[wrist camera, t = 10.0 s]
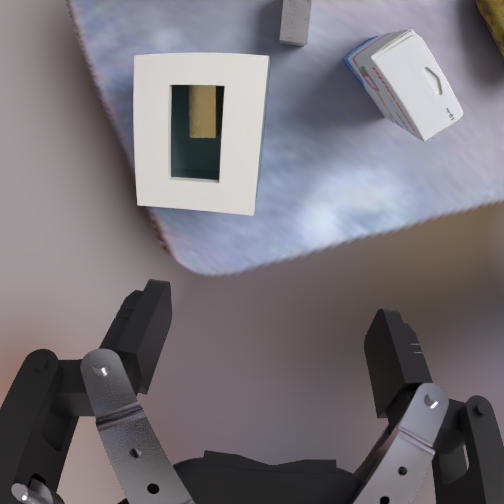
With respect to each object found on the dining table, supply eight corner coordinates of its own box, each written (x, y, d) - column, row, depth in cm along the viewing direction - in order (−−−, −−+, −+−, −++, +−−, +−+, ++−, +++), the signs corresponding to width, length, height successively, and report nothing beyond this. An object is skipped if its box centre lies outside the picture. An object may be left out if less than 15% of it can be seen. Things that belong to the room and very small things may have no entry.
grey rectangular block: (279, 43, 29) (279, 40, 25) (283, -6, 26) (284, -15, 22) (303, 46, 29) (307, 43, 25) (308, -3, 26) (312, -11, 22)
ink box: (338, 59, 29) (368, 55, 19) (373, 36, 27) (415, 25, 17) (384, 120, 32) (427, 145, 22) (416, 98, 30) (469, 115, 20)
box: (170, 56, 30) (134, 55, 22) (270, 59, 30) (268, 55, 21) (168, 172, 37) (137, 205, 29) (259, 179, 37) (253, 215, 29)
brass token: (198, 130, 34) (189, 137, 30) (198, 77, 31) (188, 79, 27) (222, 130, 34) (215, 137, 30) (222, 77, 30) (215, 78, 27)
